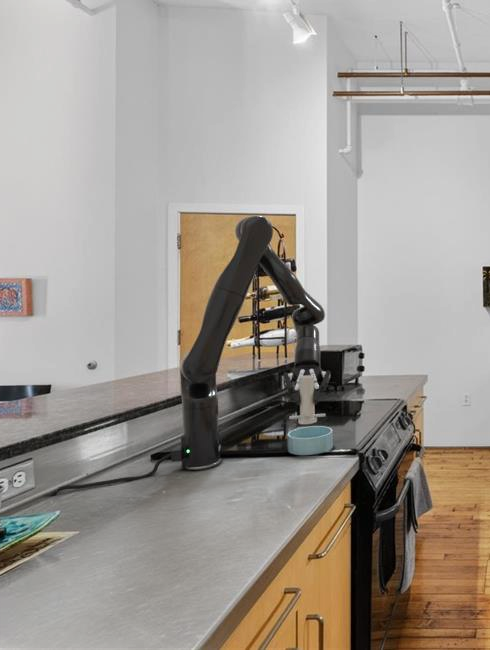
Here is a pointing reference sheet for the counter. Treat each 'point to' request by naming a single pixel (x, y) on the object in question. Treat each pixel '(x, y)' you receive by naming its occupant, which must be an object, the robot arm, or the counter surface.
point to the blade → (307, 401)
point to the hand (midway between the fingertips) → (306, 403)
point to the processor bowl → (310, 440)
